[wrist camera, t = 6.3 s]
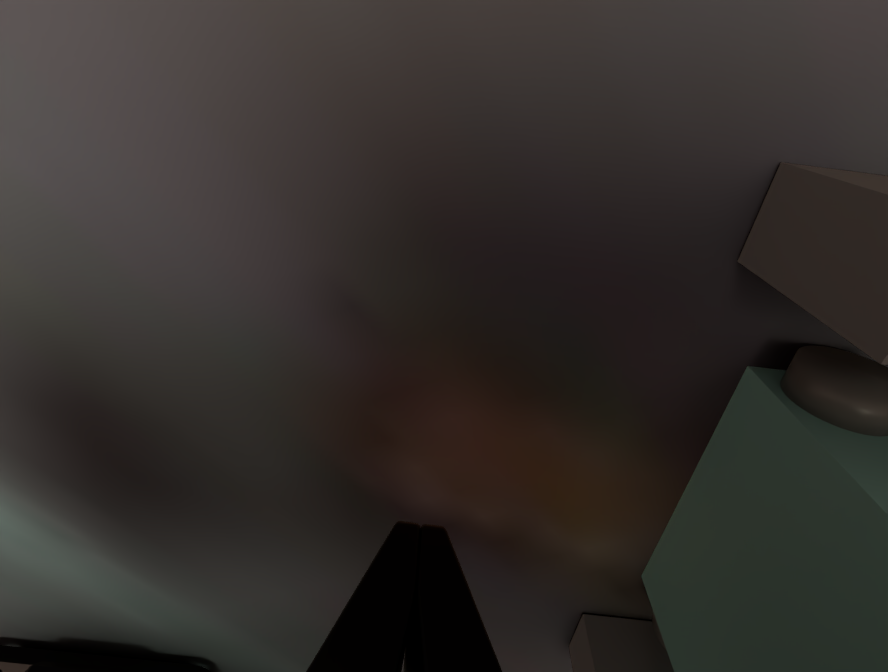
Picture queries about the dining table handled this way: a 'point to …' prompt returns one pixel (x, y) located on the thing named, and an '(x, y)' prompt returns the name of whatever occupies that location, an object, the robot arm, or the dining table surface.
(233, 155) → the dining table surface
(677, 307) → the dining table surface
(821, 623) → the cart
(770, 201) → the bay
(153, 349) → the dining table surface
